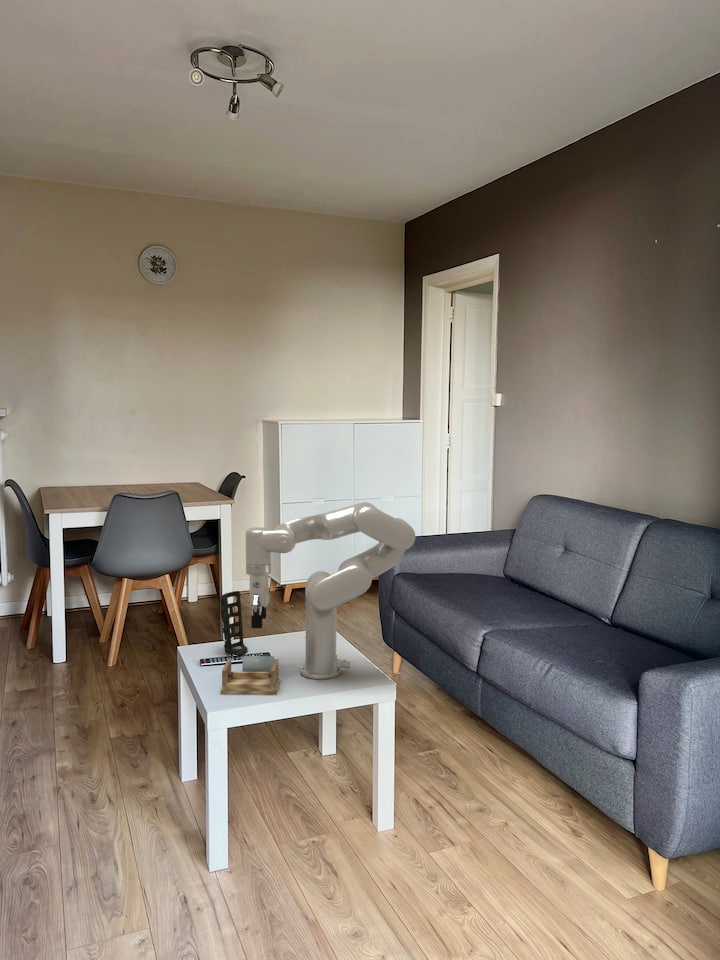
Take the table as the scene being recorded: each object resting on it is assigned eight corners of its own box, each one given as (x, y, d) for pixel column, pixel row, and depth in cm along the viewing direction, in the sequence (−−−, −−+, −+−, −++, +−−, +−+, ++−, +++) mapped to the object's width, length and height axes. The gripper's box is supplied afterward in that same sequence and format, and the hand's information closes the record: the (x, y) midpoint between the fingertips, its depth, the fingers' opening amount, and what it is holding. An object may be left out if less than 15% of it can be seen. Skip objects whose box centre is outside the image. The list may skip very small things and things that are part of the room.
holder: (243, 657, 237) (237, 597, 235) (220, 658, 238) (214, 599, 236) (250, 647, 248) (244, 589, 246) (228, 648, 248) (223, 591, 247)
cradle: (279, 681, 217) (279, 659, 217) (276, 694, 207) (276, 671, 207) (226, 681, 217) (226, 658, 216) (220, 694, 207) (220, 670, 206)
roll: (275, 668, 226) (274, 652, 224) (273, 680, 220) (272, 664, 218) (244, 667, 226) (243, 651, 224) (242, 680, 220) (241, 664, 218)
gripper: (267, 574, 211) (268, 631, 213) (273, 562, 229) (274, 615, 230) (241, 574, 211) (242, 631, 213) (250, 562, 229) (250, 615, 230)
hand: (258, 623), depth 222 cm, fingers open, 9 cm apart
